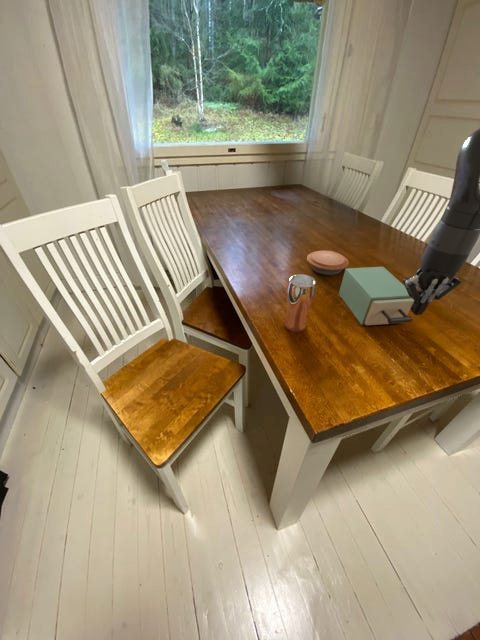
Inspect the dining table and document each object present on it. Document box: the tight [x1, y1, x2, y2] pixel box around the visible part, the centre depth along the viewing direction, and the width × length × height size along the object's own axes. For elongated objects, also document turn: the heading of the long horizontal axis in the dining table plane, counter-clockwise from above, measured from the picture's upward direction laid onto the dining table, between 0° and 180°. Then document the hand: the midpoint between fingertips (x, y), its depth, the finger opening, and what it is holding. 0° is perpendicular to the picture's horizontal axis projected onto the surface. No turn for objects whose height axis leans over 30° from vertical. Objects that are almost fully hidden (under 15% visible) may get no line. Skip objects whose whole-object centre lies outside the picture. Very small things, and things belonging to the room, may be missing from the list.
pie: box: [306, 250, 349, 276], centre depth 105 cm, size 15×16×5 cm
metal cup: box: [284, 273, 317, 333], centre depth 74 cm, size 7×7×15 cm
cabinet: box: [338, 266, 411, 326], centre depth 83 cm, size 17×13×10 cm
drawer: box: [365, 298, 414, 326], centre depth 80 cm, size 20×11×8 cm, turn 7°
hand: (416, 312), depth 66 cm, fingers closed
